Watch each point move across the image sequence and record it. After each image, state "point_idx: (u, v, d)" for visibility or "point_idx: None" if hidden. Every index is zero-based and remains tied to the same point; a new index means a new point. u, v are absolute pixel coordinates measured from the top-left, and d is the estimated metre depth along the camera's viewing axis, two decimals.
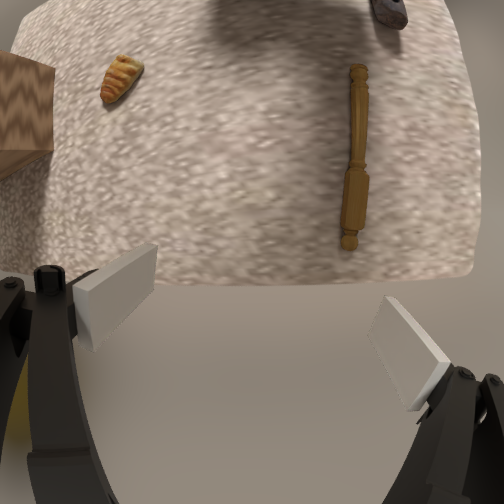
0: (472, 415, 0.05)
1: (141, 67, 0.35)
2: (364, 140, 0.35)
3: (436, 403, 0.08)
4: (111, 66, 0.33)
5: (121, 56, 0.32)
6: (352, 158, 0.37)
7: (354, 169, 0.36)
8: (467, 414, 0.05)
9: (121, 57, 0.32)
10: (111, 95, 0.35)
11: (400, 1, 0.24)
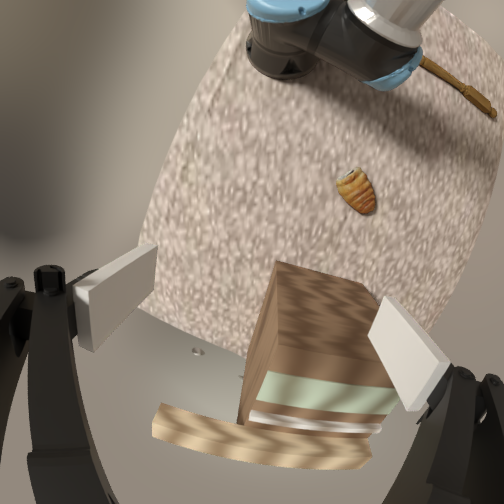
0: (472, 415, 0.05)
1: (360, 169, 0.49)
2: (453, 77, 0.39)
3: (436, 403, 0.08)
4: (349, 191, 0.49)
5: (348, 178, 0.48)
6: (460, 88, 0.40)
7: (466, 90, 0.40)
8: (467, 414, 0.05)
9: (349, 179, 0.48)
10: (373, 202, 0.50)
11: None
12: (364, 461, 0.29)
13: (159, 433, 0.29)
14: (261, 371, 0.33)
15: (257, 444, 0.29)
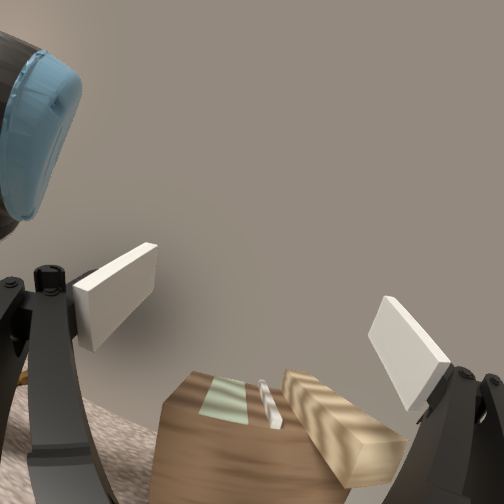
0: (472, 415, 0.05)
1: None
2: None
3: (436, 403, 0.08)
4: None
5: None
6: None
7: (19, 378, 0.51)
8: (467, 414, 0.05)
9: None
10: None
11: None
12: (293, 370, 0.44)
13: (384, 437, 0.14)
14: (223, 447, 0.23)
15: (309, 402, 0.27)
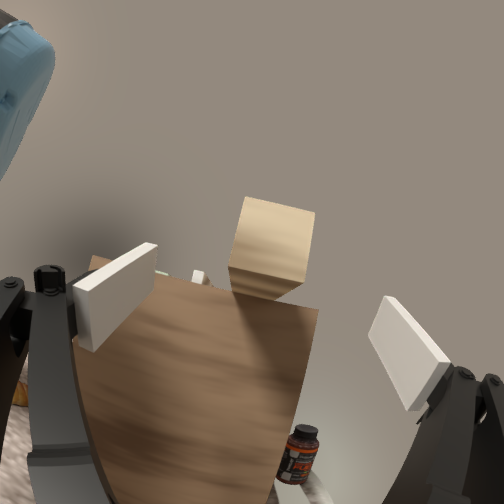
0: (472, 415, 0.05)
1: None
2: None
3: (436, 403, 0.08)
4: None
5: None
6: None
7: None
8: (467, 414, 0.05)
9: None
10: None
11: None
12: None
13: None
14: (142, 305, 0.25)
15: None
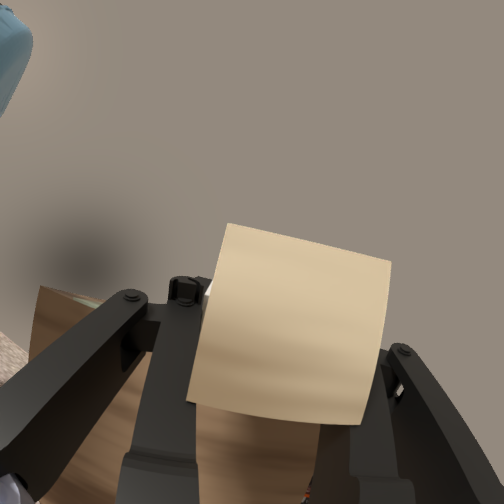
0: (381, 382, 0.07)
1: None
2: None
3: None
4: None
5: None
6: None
7: None
8: (375, 383, 0.07)
9: None
10: None
11: None
12: None
13: None
14: None
15: None
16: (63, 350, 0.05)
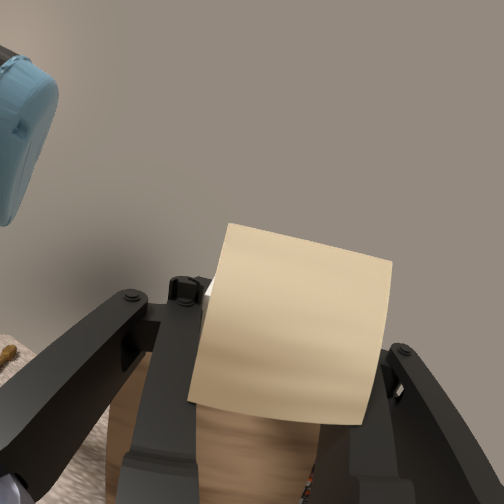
0: (381, 382, 0.07)
1: None
2: None
3: None
4: None
5: None
6: (6, 358, 0.51)
7: (7, 354, 0.52)
8: (375, 383, 0.07)
9: None
10: None
11: None
12: None
13: None
14: None
15: None
16: (63, 350, 0.05)
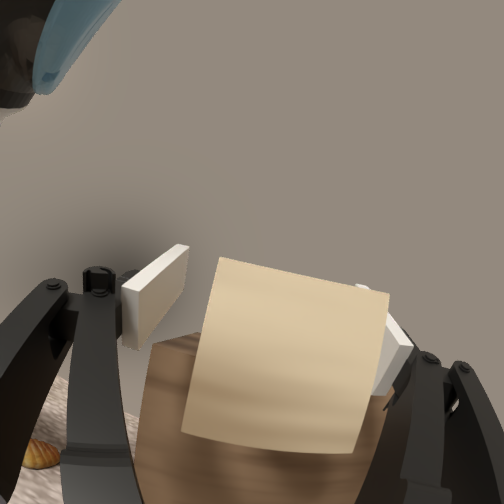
0: (441, 401, 0.06)
1: None
2: None
3: (401, 389, 0.09)
4: (30, 451, 0.20)
5: None
6: None
7: None
8: (436, 400, 0.06)
9: None
10: None
11: None
12: None
13: None
14: None
15: None
16: None
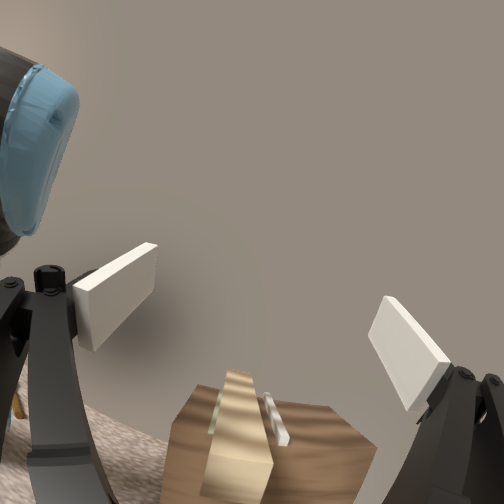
0: (472, 415, 0.05)
1: None
2: None
3: (436, 403, 0.08)
4: None
5: None
6: None
7: None
8: (467, 414, 0.05)
9: None
10: None
11: None
12: (235, 370, 0.43)
13: (246, 453, 0.14)
14: None
15: None
16: None
